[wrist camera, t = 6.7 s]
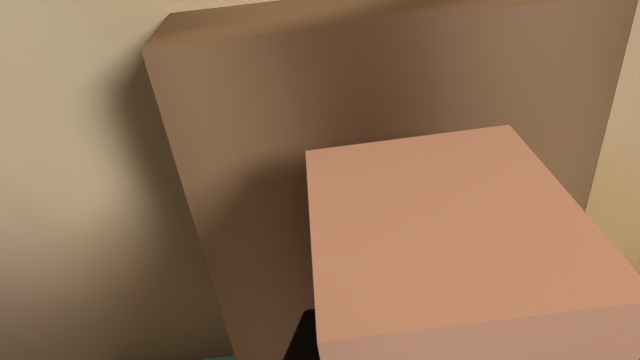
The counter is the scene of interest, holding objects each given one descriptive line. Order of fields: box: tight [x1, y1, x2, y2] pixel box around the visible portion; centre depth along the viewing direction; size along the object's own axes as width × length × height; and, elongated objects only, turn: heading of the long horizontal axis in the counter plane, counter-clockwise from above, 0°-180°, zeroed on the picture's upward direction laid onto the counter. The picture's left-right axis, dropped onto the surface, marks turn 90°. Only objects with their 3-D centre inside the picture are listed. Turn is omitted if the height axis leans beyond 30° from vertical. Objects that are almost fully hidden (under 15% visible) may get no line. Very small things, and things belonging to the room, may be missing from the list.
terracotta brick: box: [305, 125, 640, 360], centre depth 8 cm, size 6×4×4 cm, turn 7°
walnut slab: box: [141, 0, 638, 360], centre depth 12 cm, size 9×9×3 cm
